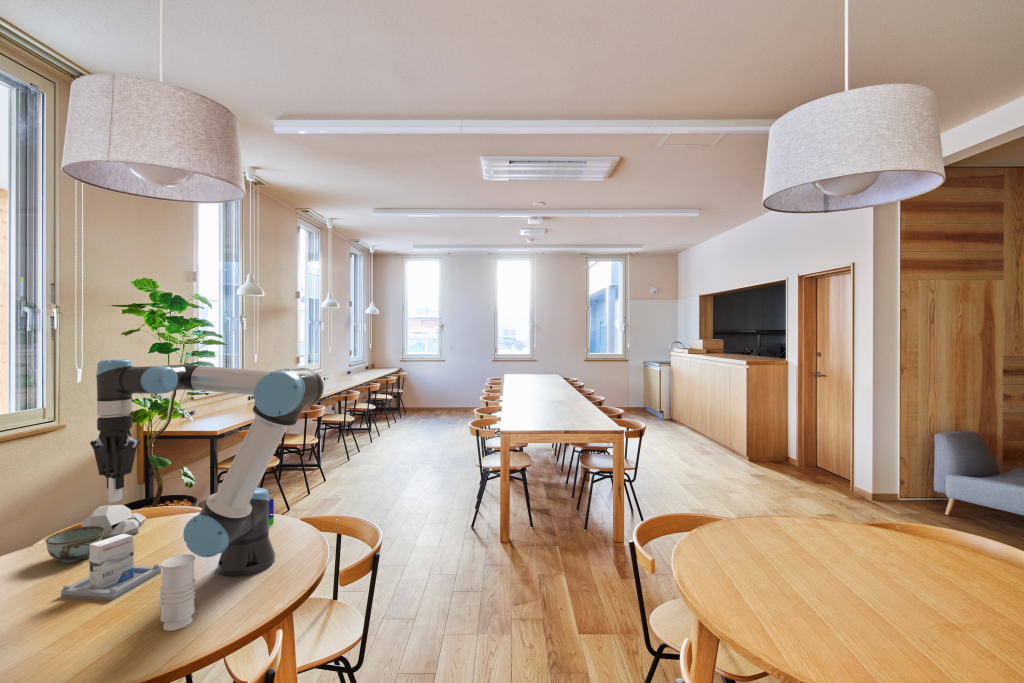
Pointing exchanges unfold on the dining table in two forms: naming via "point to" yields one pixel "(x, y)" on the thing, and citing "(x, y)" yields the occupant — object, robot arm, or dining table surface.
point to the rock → (115, 520)
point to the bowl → (73, 543)
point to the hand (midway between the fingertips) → (115, 500)
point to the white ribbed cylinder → (177, 592)
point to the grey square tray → (113, 591)
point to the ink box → (111, 561)
